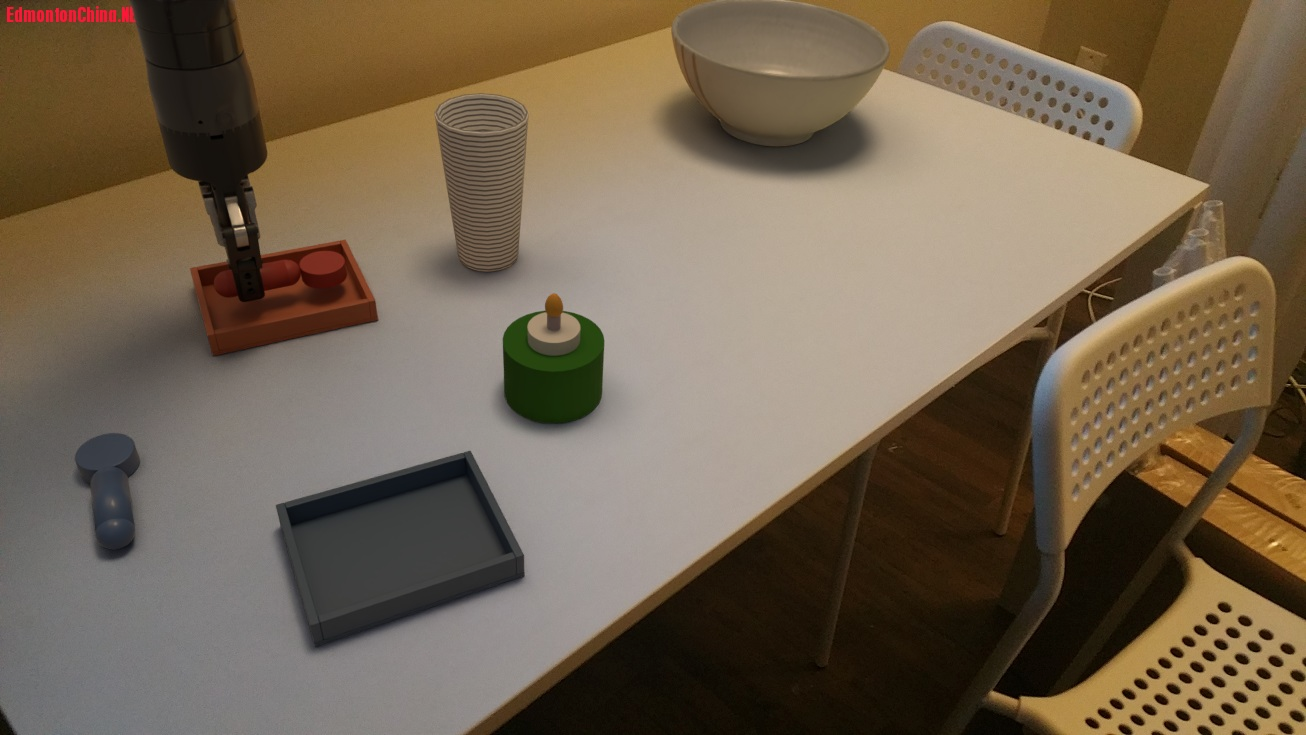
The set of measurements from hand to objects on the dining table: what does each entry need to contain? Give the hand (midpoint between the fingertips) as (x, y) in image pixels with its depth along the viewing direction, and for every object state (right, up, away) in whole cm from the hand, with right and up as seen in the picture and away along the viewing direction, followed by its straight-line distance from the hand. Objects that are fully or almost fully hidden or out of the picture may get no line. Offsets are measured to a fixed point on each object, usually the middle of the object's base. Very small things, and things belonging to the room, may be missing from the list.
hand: (249, 289), depth 88 cm
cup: (+20, +4, +11) cm, 23 cm away
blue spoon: (-3, -17, -17) cm, 24 cm away
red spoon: (+3, 0, +1) cm, 3 cm away
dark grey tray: (+19, -20, -19) cm, 33 cm away
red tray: (+2, -1, +3) cm, 4 cm away
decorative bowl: (+51, +24, +40) cm, 69 cm away
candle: (+28, -9, -5) cm, 30 cm away
